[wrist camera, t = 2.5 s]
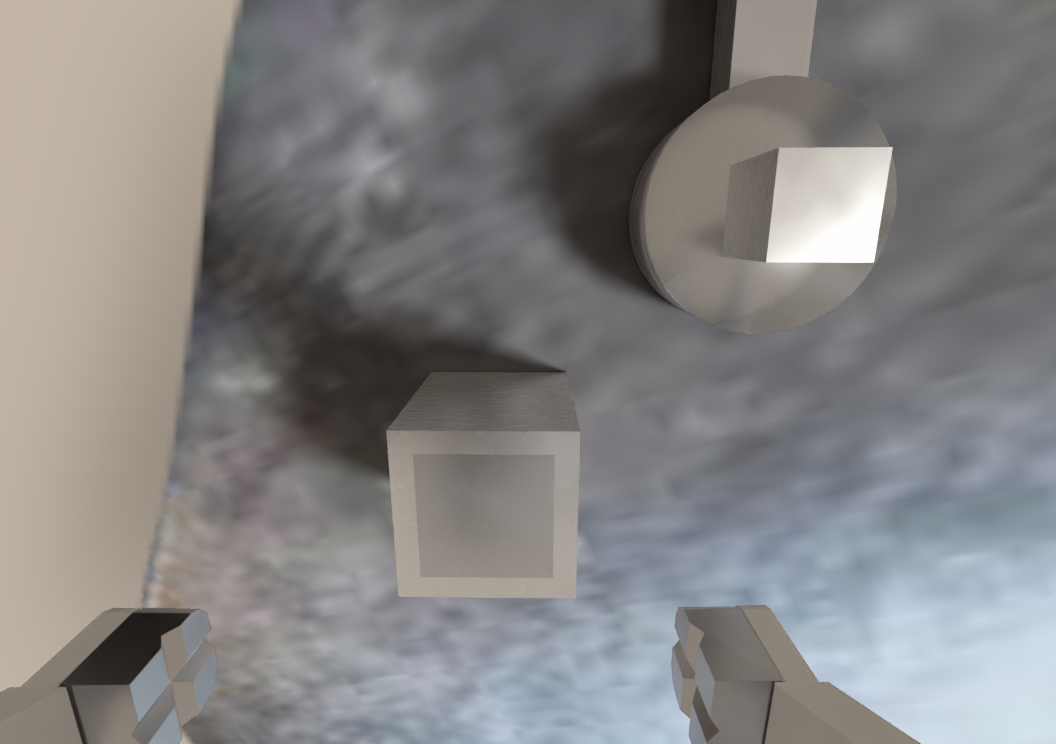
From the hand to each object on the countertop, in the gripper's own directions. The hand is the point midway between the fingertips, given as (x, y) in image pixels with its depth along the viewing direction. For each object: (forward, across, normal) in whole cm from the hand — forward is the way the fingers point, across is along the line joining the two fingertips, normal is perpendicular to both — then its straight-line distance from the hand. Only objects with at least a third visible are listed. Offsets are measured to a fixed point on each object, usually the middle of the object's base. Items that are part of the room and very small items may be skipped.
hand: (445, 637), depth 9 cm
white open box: (+11, 0, +1) cm, 11 cm away
